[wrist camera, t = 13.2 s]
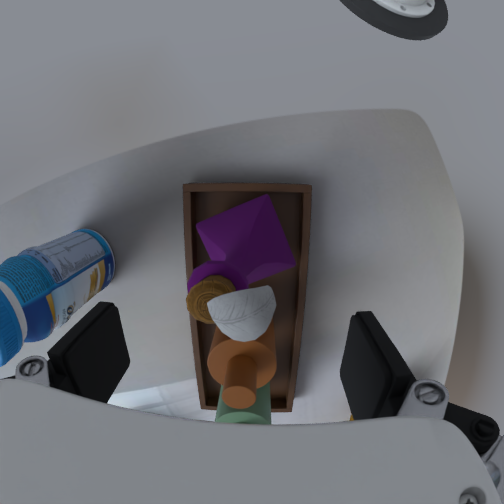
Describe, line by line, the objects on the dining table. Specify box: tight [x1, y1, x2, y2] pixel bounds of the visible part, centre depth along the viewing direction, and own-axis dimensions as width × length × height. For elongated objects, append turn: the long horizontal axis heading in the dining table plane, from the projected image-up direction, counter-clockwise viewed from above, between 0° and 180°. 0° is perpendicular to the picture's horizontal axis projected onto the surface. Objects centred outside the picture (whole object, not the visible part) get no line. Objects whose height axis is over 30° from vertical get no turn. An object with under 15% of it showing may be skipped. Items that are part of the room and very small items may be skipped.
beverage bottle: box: [0, 229, 115, 367], centre depth 22 cm, size 8×8×20 cm
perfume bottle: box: [186, 194, 296, 342], centre depth 22 cm, size 8×8×18 cm
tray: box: [183, 183, 312, 412], centre depth 32 cm, size 30×13×2 cm, turn 179°
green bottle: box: [215, 381, 271, 425], centre depth 28 cm, size 6×6×14 cm
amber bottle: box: [207, 317, 277, 409], centre depth 26 cm, size 6×6×14 cm
